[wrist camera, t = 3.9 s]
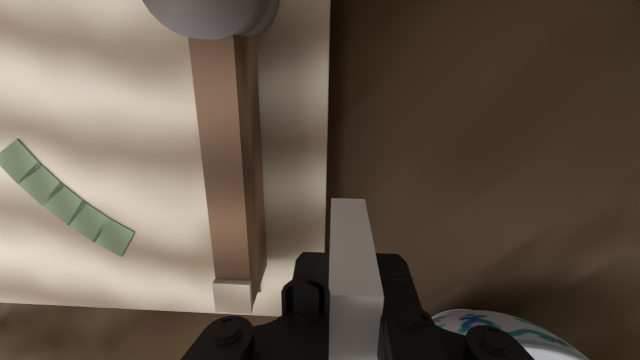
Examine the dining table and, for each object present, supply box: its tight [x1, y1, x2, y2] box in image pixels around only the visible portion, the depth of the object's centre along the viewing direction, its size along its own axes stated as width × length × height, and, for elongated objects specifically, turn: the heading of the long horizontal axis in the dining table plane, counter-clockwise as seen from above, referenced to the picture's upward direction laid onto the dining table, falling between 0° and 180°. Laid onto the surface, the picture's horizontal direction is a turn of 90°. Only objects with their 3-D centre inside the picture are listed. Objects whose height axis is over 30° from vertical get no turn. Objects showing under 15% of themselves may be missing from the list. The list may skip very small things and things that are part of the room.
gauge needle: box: [142, 0, 280, 314], centre depth 18 cm, size 19×5×6 cm, turn 179°
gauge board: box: [0, 0, 331, 316], centre depth 23 cm, size 27×27×2 cm
